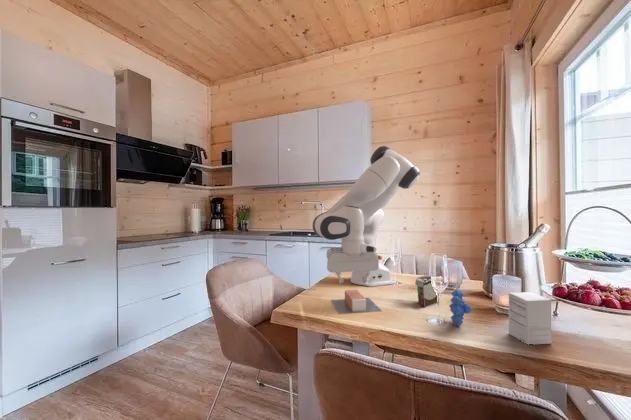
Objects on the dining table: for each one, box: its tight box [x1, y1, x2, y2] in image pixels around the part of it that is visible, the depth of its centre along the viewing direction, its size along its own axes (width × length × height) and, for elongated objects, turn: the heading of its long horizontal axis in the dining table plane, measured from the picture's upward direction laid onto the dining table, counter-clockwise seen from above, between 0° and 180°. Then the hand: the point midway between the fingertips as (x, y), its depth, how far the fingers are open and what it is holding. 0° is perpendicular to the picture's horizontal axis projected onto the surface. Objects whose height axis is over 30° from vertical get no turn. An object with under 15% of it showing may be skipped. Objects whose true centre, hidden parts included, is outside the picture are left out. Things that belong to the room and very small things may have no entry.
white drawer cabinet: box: [508, 291, 552, 346], centre depth 83 cm, size 7×7×13 cm
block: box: [344, 289, 366, 311], centre depth 109 cm, size 5×4×12 cm
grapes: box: [449, 289, 473, 327], centre depth 92 cm, size 12×7×12 cm, turn 148°
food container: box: [414, 275, 438, 309], centre depth 114 cm, size 12×6×10 cm, turn 124°
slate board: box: [330, 297, 383, 315], centre depth 109 cm, size 16×15×1 cm
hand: (353, 282), depth 112 cm, fingers open, 8 cm apart
